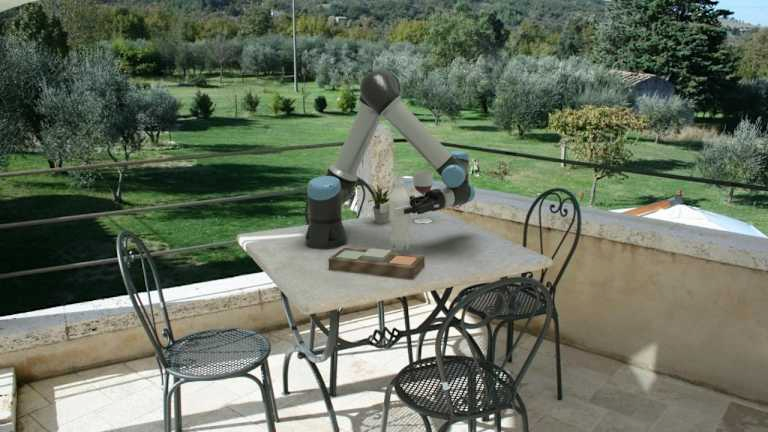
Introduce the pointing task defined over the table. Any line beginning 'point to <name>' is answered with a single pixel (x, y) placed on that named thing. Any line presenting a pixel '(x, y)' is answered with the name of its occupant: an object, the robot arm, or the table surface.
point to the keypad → (377, 265)
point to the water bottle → (400, 223)
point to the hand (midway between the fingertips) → (387, 210)
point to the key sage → (350, 254)
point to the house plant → (380, 200)
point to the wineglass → (423, 187)
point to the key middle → (376, 255)
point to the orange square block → (403, 260)
